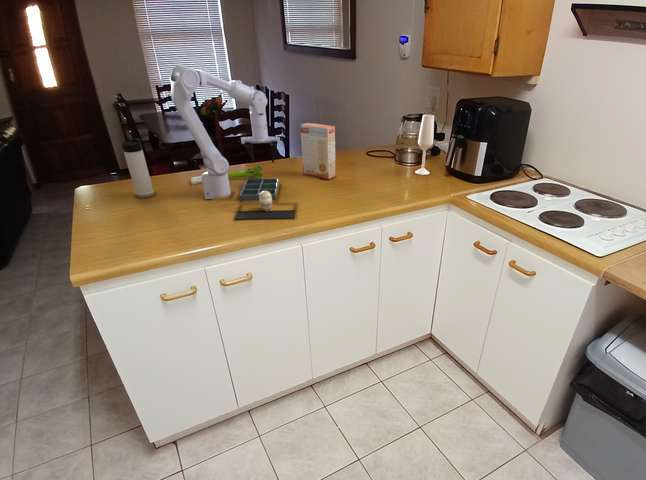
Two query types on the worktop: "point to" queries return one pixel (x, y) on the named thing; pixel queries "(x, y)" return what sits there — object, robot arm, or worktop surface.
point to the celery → (236, 174)
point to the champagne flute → (426, 139)
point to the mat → (265, 215)
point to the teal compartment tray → (259, 188)
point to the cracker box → (318, 150)
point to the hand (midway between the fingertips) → (263, 162)
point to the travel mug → (138, 168)
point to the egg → (265, 200)
